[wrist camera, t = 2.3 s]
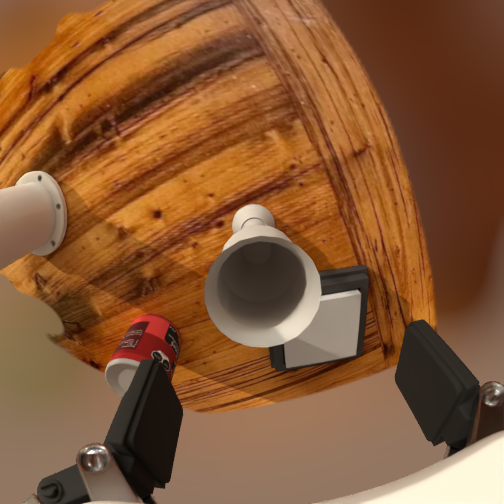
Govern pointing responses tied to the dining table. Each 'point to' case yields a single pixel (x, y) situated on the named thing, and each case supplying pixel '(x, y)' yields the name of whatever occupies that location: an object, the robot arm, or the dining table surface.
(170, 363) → the canned food
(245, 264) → the chalice
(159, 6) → the dining table surface
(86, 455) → the robot arm
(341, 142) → the dining table surface
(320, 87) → the dining table surface
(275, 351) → the scale
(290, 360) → the pan
